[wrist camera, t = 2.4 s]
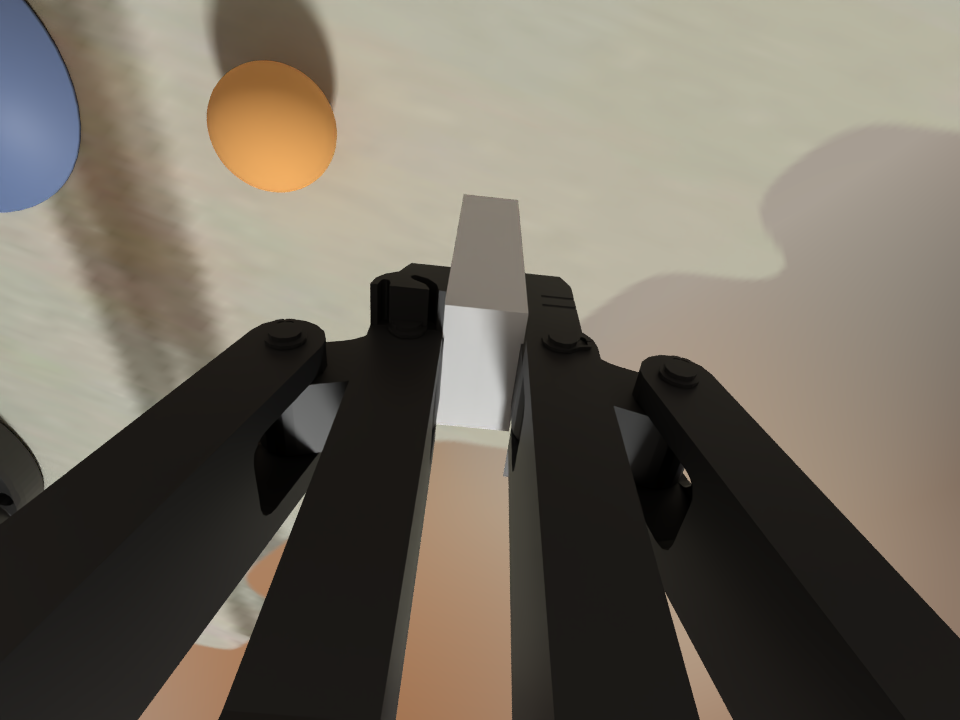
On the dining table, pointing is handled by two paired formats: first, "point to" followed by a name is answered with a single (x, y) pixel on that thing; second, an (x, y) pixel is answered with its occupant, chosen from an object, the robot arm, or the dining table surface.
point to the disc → (33, 111)
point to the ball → (271, 126)
